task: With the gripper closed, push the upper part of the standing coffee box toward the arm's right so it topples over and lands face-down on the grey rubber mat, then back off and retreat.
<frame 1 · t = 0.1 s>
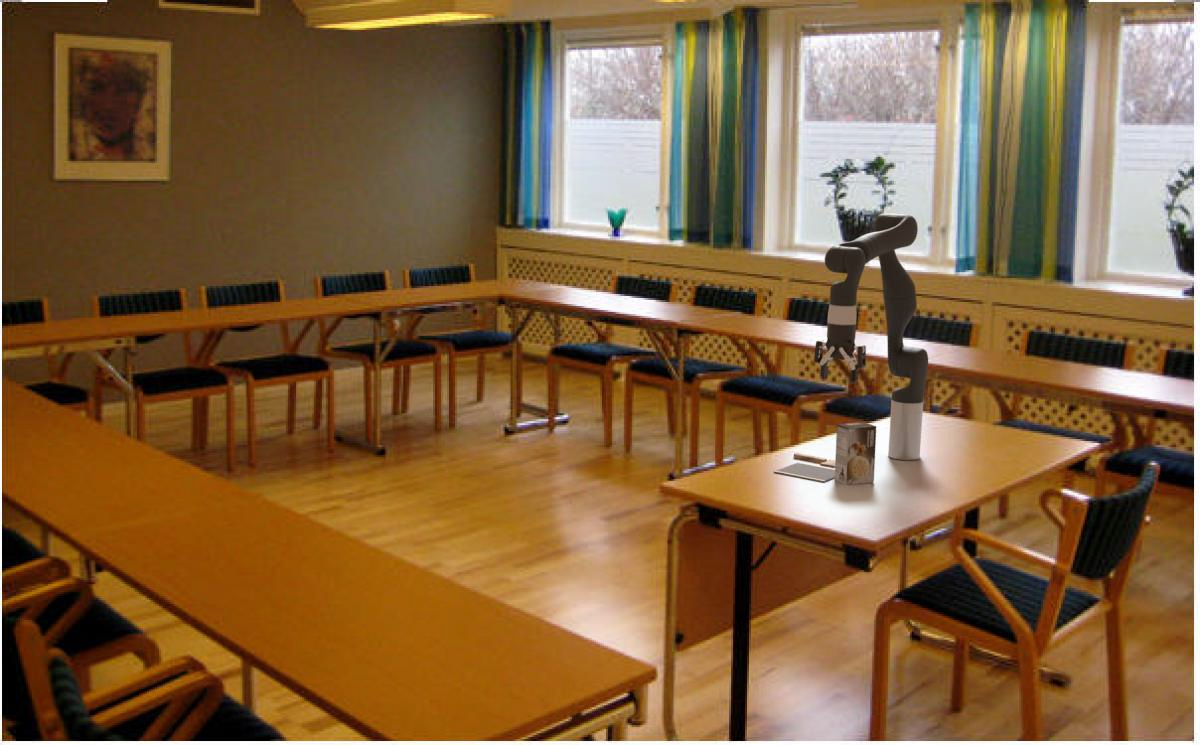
hand: (838, 381, 365), 29 cm above the table, fingers open, 8 cm apart
coffee box: (853, 482, 376), on the table
walnut turner: (828, 463, 395), on the table
mat: (810, 472, 384), on the table
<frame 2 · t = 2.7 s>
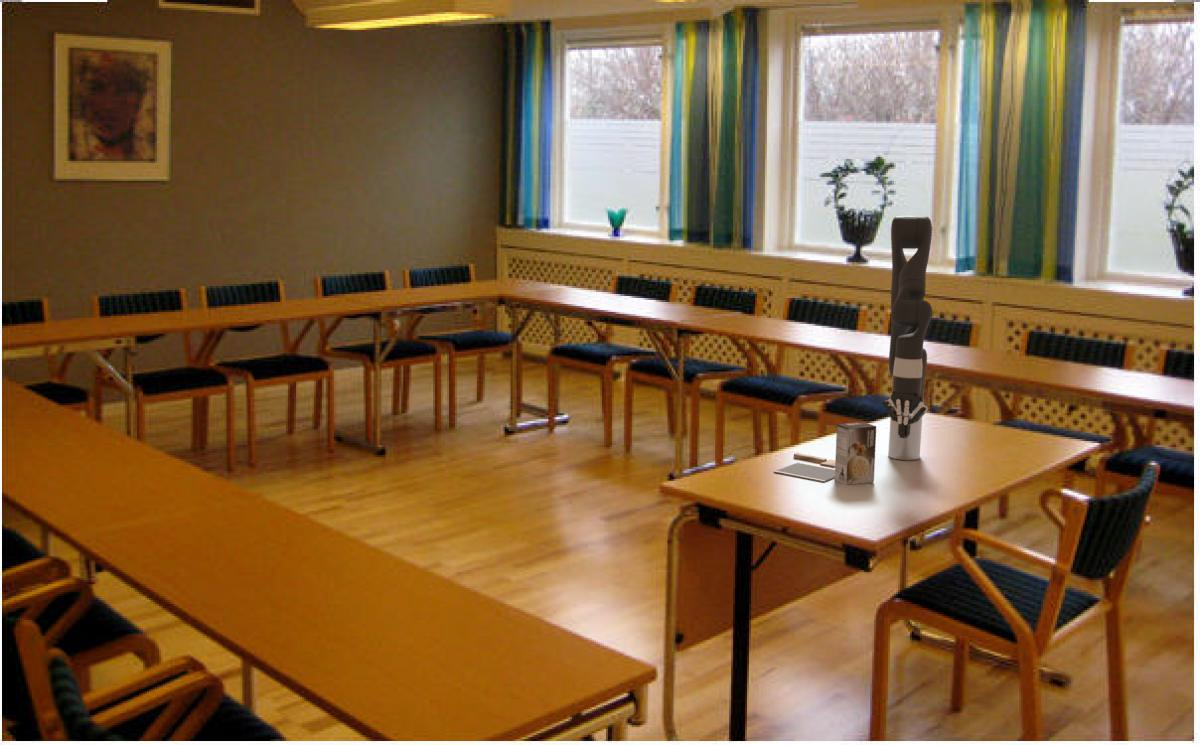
hand: (903, 437, 365), 15 cm above the table, fingers closed
nothing on the table moved.
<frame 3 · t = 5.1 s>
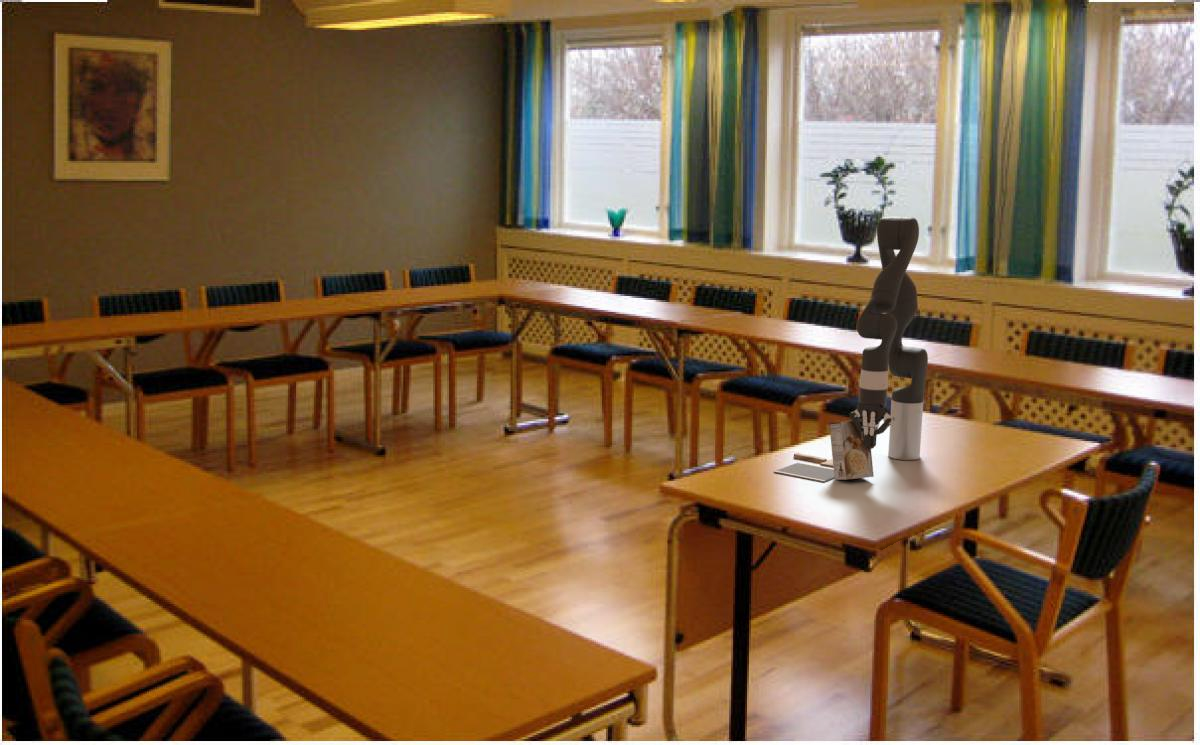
hand: (869, 448, 371), 10 cm above the table, fingers closed
coffee box: (853, 479, 376), point 1 cm above the table, touching hand
everything else where it was.
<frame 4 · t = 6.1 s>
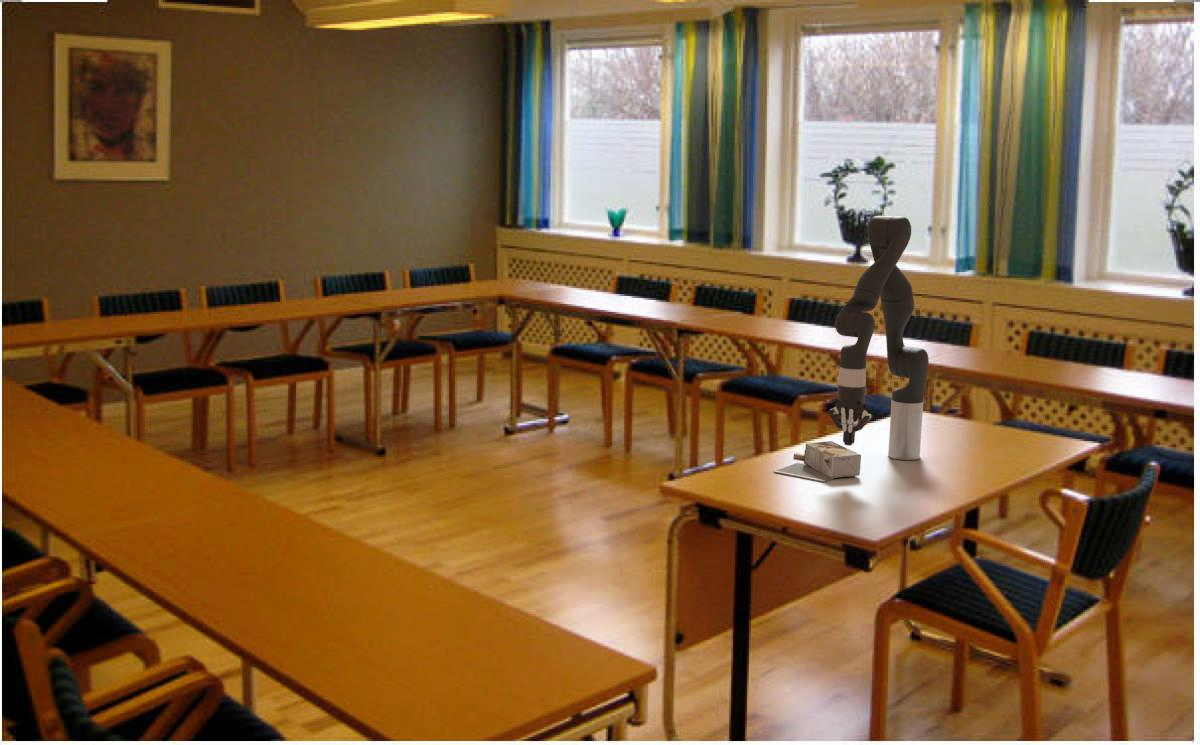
hand: (848, 444, 375), 10 cm above the table, fingers closed
coffee box: (846, 466, 377), point 4 cm above the table, touching mat
everything else where it was.
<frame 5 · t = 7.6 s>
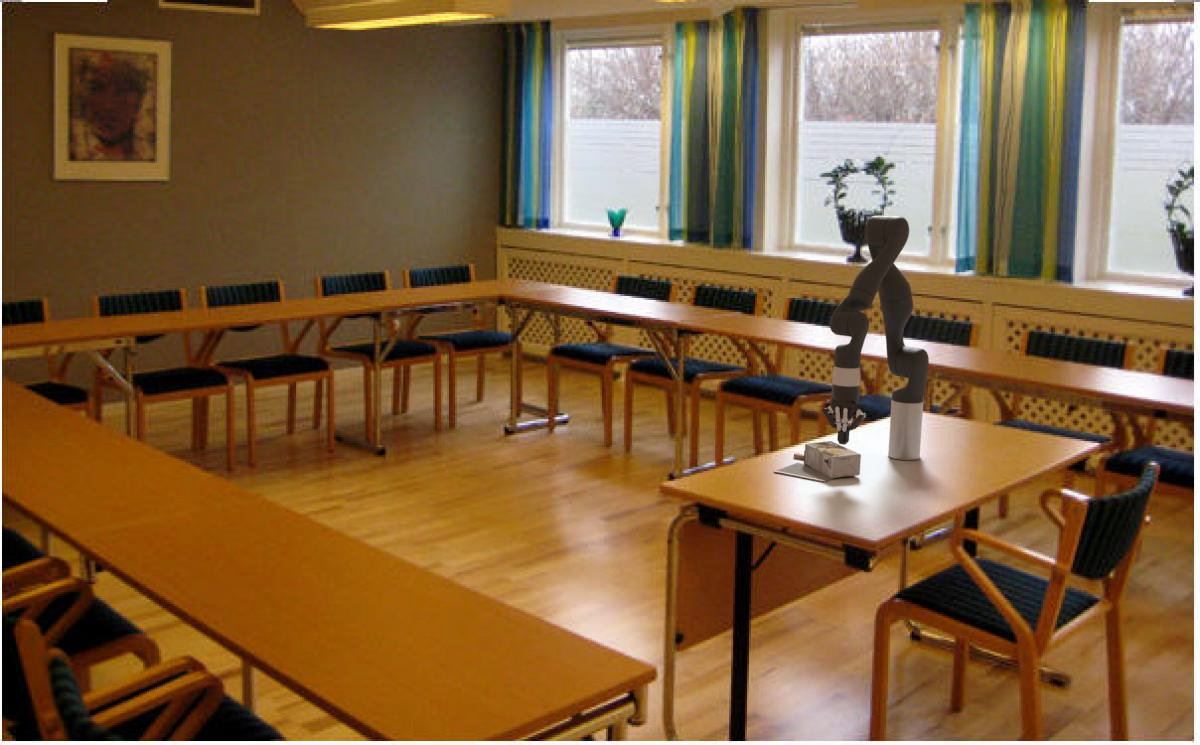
hand: (842, 443, 376), 10 cm above the table, fingers closed
coffee box: (846, 466, 377), point 4 cm above the table, touching mat, walnut turner
walnut turner: (828, 463, 395), on the table, touching coffee box
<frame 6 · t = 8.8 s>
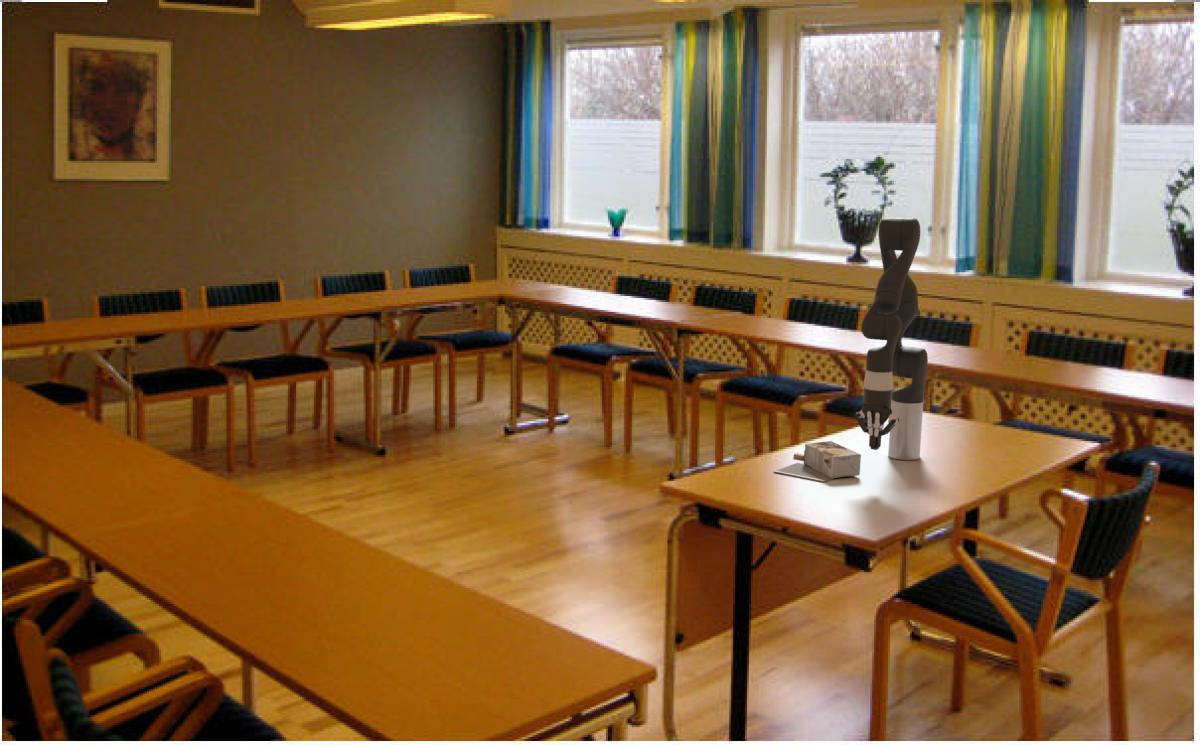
hand: (874, 449, 370), 10 cm above the table, fingers closed
nothing on the table moved.
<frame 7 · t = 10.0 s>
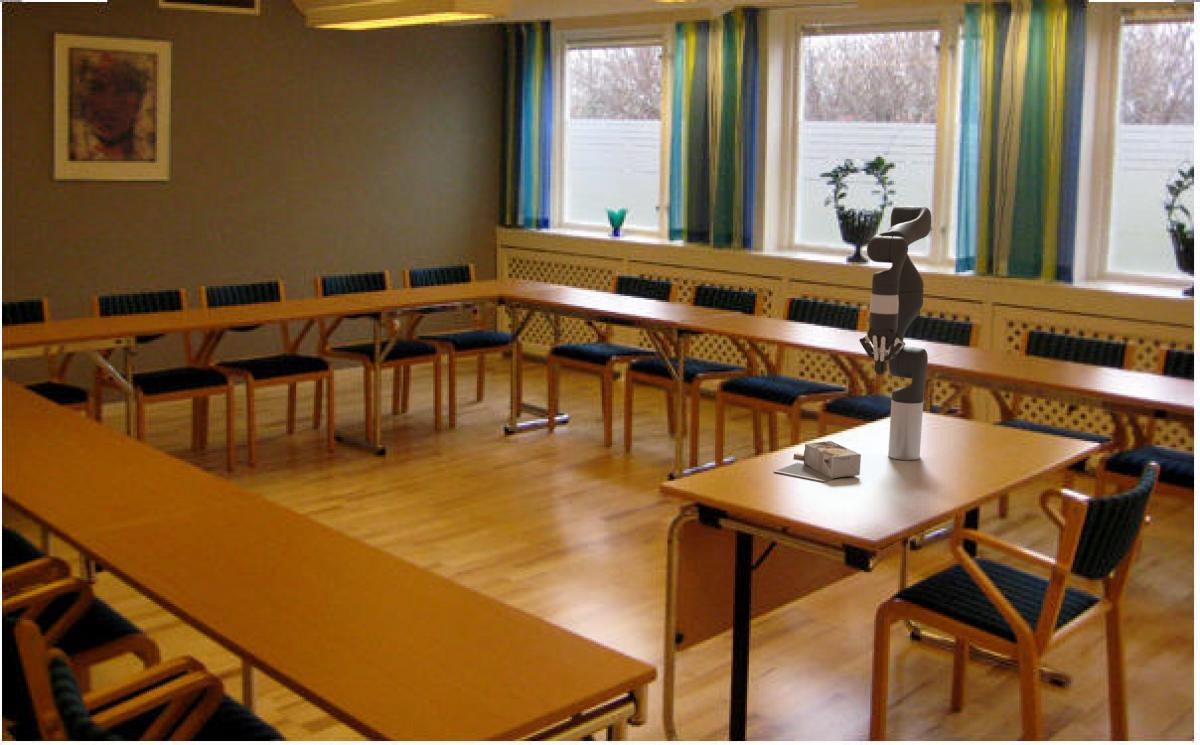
hand: (880, 374, 366), 31 cm above the table, fingers closed
nothing on the table moved.
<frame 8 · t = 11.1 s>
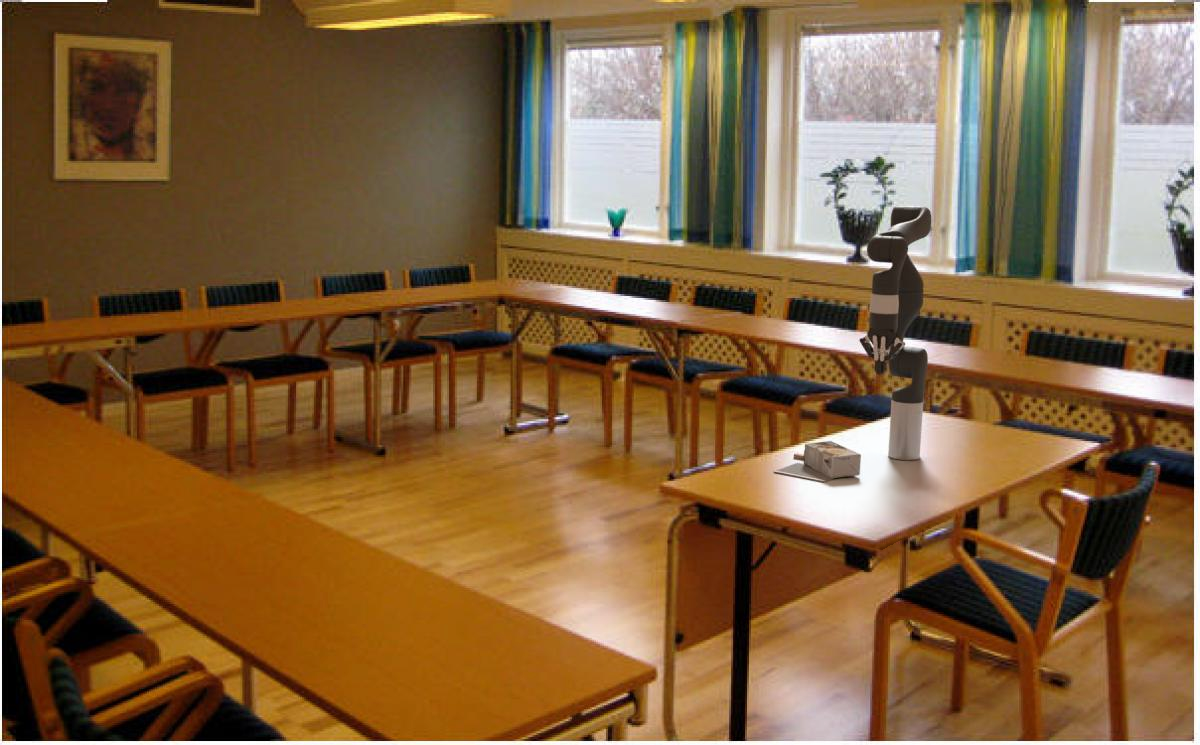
hand: (880, 374, 366), 31 cm above the table, fingers closed
nothing on the table moved.
at the end: coffee box tilted 89°; coffee box inside the target area (8.2 cm from its centre), point 3.5 cm above the table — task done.
